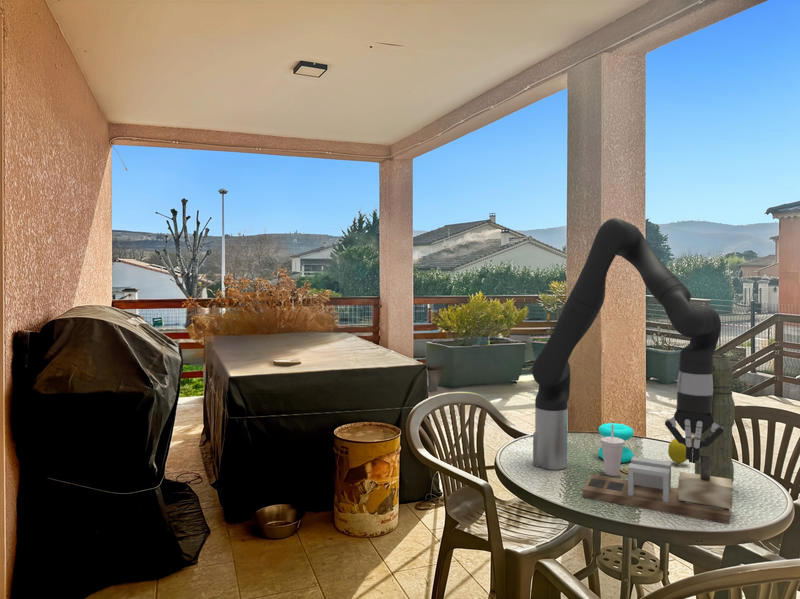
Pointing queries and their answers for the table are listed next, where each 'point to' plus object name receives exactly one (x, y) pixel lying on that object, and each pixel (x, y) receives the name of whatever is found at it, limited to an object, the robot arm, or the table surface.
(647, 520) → the table surface
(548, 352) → the robot arm
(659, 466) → the tunnel
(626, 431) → the donuts
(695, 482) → the block
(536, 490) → the table surface
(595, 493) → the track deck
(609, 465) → the smoothie
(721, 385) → the green stone statue
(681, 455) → the lemon
